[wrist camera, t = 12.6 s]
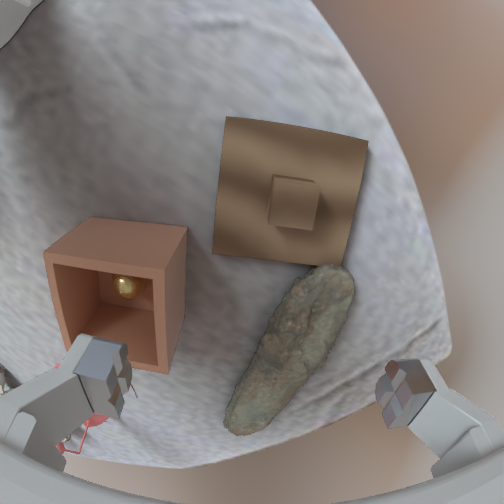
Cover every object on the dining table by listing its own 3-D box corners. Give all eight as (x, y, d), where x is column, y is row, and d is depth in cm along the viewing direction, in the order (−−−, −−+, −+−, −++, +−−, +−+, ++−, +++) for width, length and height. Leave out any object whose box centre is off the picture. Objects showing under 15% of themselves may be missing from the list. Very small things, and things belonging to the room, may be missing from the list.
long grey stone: (210, 412, 48) (262, 420, 49) (209, 437, 43) (264, 444, 45) (294, 245, 33) (367, 269, 34) (303, 270, 28) (384, 294, 30)
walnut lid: (226, 116, 27) (222, 115, 23) (364, 140, 28) (382, 143, 23) (212, 249, 32) (207, 268, 28) (337, 264, 33) (349, 283, 29)
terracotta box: (90, 216, 31) (43, 251, 22) (188, 226, 32) (164, 269, 23) (99, 302, 36) (66, 351, 27) (184, 317, 37) (168, 374, 28)
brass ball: (118, 255, 32) (104, 271, 28) (150, 259, 32) (139, 276, 29) (120, 285, 34) (108, 303, 30) (151, 290, 34) (141, 309, 30)
